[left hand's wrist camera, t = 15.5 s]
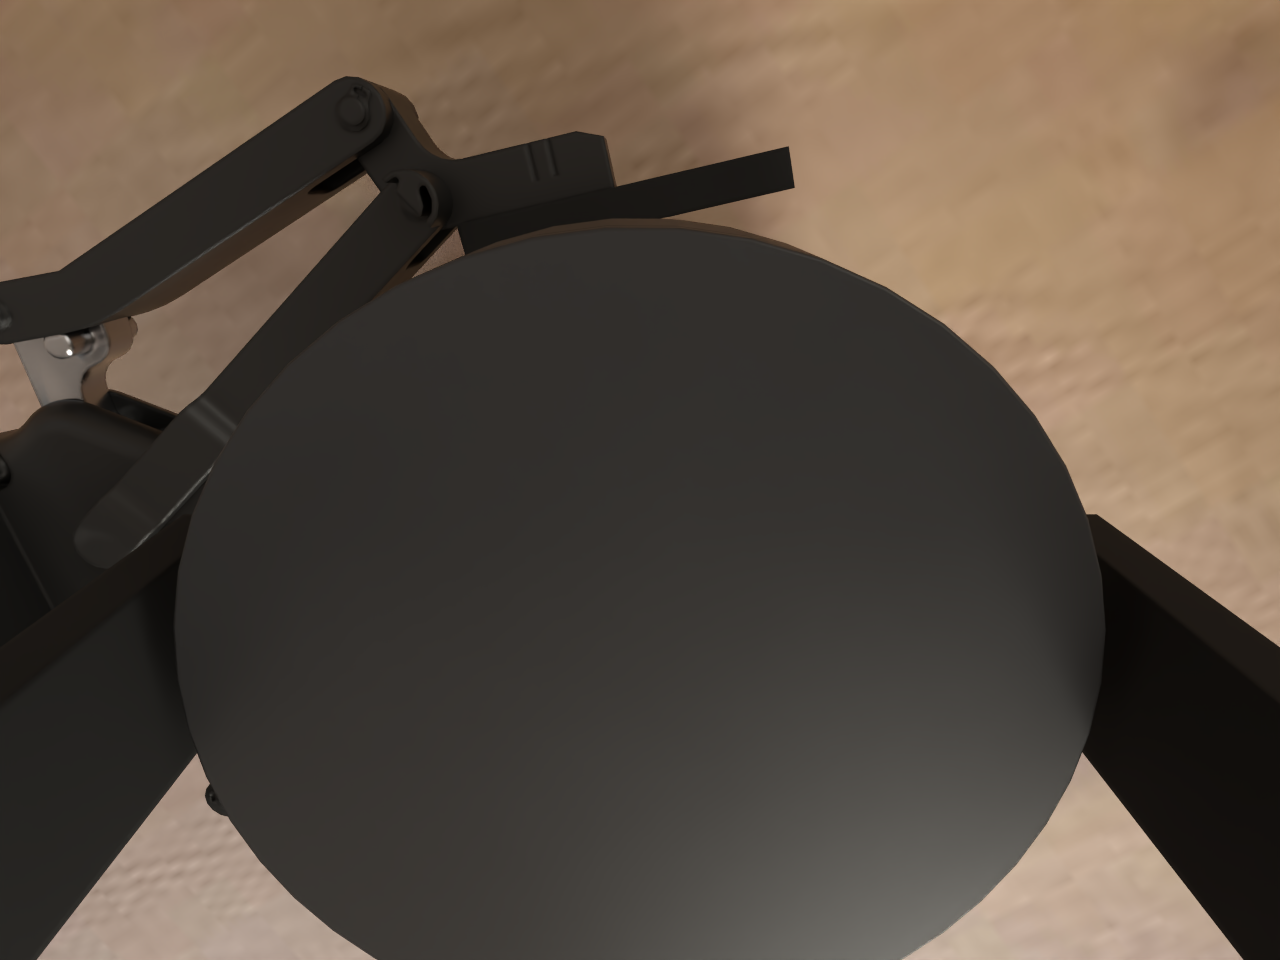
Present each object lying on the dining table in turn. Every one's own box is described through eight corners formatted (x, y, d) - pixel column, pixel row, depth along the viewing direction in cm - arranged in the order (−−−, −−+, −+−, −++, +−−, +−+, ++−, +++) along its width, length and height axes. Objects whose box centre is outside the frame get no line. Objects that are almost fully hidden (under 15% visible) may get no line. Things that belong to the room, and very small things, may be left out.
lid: (93, 448, 11) (-36, 510, 9) (862, 45, 9) (925, 8, 7) (495, 982, 15) (470, 1117, 13) (1111, 759, 13) (1202, 870, 11)
